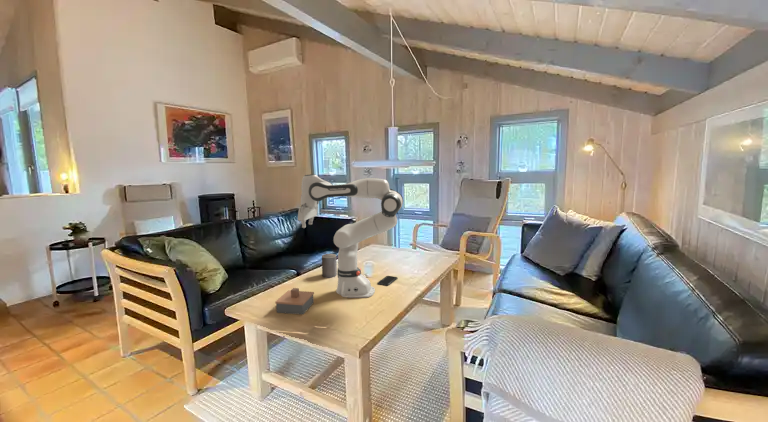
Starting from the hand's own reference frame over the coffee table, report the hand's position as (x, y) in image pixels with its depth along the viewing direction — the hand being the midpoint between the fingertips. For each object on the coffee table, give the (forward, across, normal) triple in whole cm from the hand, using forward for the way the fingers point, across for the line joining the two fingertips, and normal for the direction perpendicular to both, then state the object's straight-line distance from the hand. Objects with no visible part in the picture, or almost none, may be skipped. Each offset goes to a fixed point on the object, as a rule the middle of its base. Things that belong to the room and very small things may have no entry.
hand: (307, 225), depth 193 cm
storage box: (+38, -26, -6) cm, 46 cm away
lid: (+33, -26, -6) cm, 42 cm away
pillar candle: (+38, +26, -7) cm, 47 cm away
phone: (+35, +21, -47) cm, 62 cm away
